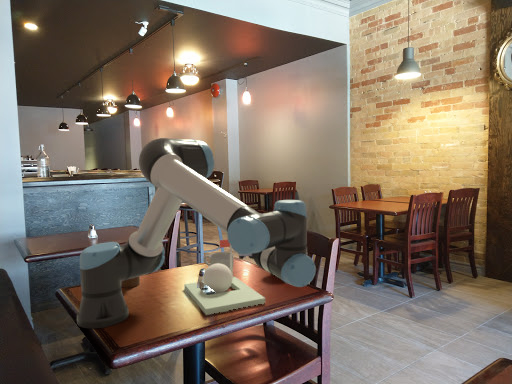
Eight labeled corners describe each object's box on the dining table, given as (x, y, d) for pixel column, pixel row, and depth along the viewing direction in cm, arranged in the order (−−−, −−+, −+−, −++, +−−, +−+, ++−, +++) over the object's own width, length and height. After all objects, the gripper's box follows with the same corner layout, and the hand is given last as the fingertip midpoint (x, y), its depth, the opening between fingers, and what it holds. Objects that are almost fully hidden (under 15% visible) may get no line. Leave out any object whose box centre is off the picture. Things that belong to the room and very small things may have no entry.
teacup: (238, 270, 170) (237, 252, 169) (226, 276, 160) (226, 258, 160) (212, 267, 176) (211, 250, 175) (199, 273, 166) (198, 255, 165)
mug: (143, 289, 146) (142, 265, 145) (122, 292, 143) (121, 268, 142) (138, 281, 157) (137, 259, 156) (119, 284, 153) (117, 261, 153)
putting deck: (265, 303, 127) (264, 251, 126) (206, 315, 119) (204, 259, 118) (235, 281, 153) (233, 238, 152) (184, 289, 145) (182, 243, 143)
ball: (215, 252, 140) (209, 268, 148) (200, 273, 132) (195, 289, 140) (240, 267, 139) (233, 282, 146) (226, 289, 131) (220, 304, 139)
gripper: (249, 275, 94) (219, 255, 116) (294, 268, 100) (257, 250, 121) (249, 245, 94) (218, 231, 115) (294, 240, 99) (257, 227, 121)
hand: (238, 241), depth 118 cm, fingers closed
